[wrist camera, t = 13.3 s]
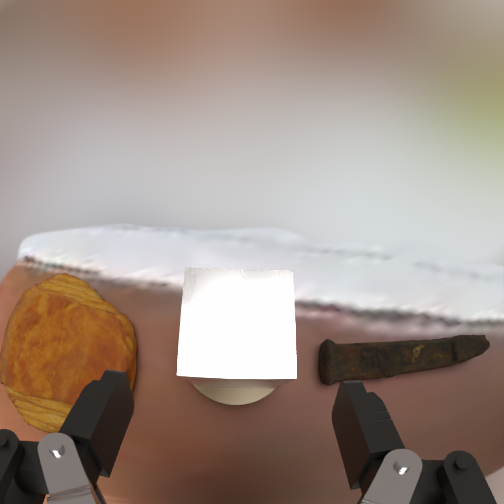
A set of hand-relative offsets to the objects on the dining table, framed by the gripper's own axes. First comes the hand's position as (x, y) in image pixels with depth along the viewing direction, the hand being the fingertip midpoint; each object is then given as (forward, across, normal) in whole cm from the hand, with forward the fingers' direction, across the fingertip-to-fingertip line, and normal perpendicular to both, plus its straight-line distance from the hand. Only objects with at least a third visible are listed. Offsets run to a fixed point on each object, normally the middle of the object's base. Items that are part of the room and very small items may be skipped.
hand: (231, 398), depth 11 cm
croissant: (+13, +16, +10) cm, 23 cm away
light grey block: (+11, 0, +6) cm, 12 cm away
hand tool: (+15, -17, +9) cm, 24 cm away
